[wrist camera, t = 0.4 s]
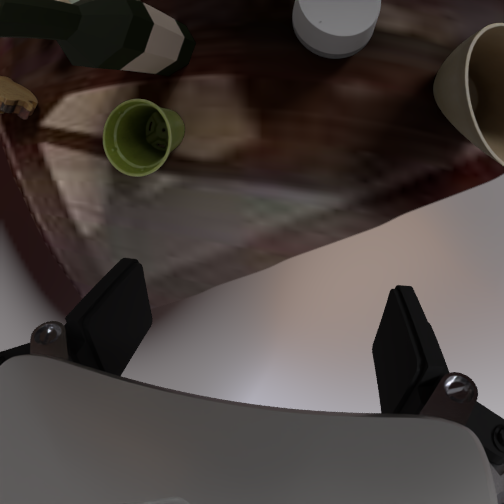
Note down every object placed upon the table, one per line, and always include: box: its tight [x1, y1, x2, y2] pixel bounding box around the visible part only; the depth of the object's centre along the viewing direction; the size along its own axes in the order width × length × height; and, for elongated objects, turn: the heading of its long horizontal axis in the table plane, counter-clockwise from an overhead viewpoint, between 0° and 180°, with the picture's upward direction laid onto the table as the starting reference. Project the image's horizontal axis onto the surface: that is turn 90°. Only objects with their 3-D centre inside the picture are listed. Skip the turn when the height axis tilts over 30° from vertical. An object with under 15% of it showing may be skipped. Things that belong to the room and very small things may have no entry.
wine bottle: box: [0, 0, 196, 76], centre depth 21 cm, size 8×8×30 cm
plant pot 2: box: [433, 23, 504, 166], centre depth 24 cm, size 15×15×16 cm
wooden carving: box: [0, 76, 38, 119], centre depth 35 cm, size 16×5×10 cm, turn 59°
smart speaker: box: [292, 0, 381, 59], centre depth 24 cm, size 10×9×14 cm
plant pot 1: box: [103, 99, 185, 177], centre depth 36 cm, size 9×9×9 cm
